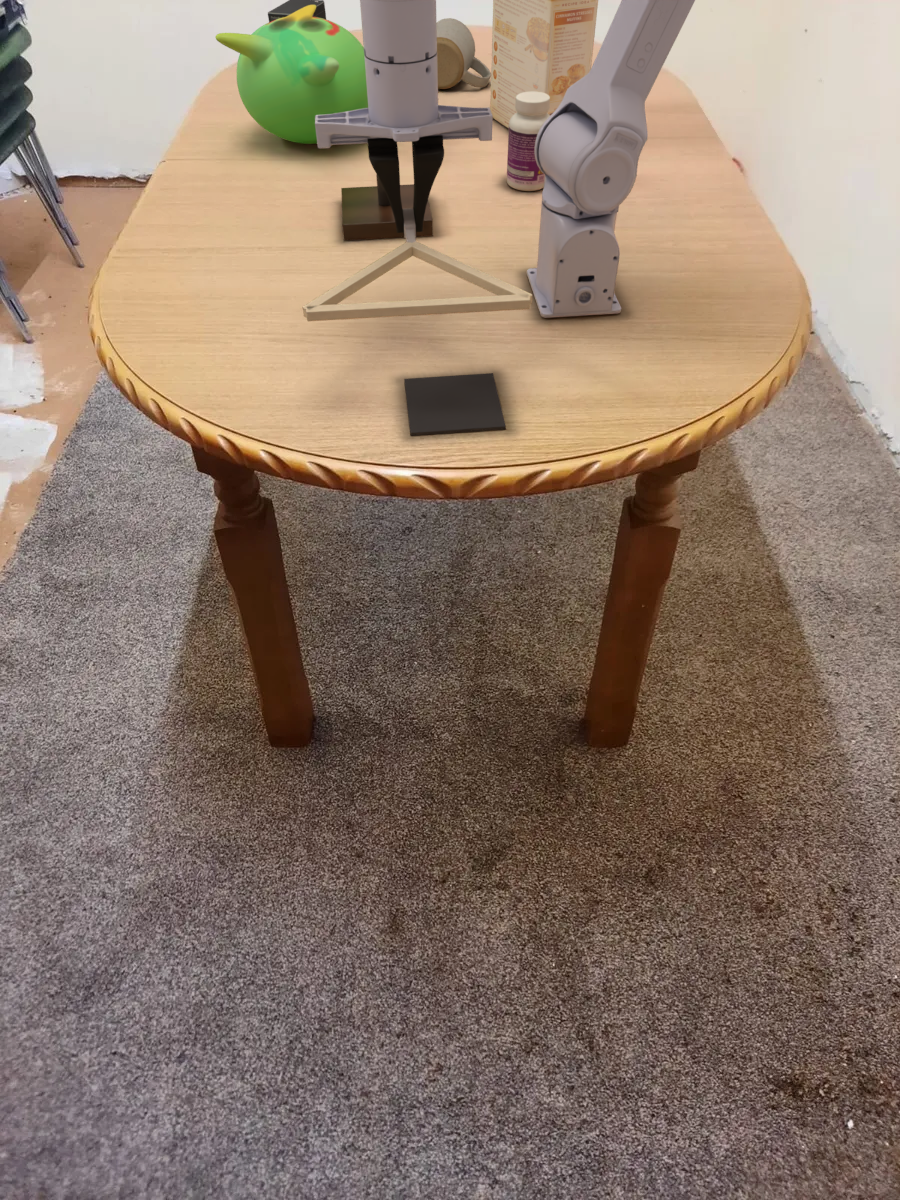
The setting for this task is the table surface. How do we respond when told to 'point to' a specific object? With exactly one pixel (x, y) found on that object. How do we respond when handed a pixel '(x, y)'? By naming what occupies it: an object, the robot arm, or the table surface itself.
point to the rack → (376, 213)
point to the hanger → (331, 310)
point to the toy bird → (298, 73)
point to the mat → (453, 404)
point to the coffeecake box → (539, 50)
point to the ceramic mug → (458, 56)
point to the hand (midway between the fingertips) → (409, 227)
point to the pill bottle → (526, 141)
